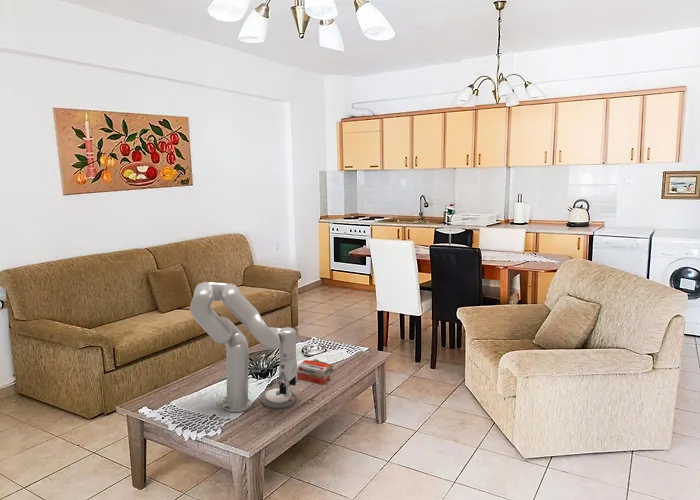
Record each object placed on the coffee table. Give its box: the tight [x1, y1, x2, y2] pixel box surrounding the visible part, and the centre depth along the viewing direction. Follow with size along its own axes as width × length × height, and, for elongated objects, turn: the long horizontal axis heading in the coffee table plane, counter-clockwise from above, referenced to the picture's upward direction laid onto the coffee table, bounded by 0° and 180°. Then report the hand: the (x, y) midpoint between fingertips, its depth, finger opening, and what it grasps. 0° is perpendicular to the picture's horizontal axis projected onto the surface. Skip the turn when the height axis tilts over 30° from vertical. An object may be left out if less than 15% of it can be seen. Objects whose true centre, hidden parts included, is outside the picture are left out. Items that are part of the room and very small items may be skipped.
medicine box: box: [296, 359, 331, 386], centre depth 265 cm, size 15×8×8 cm, turn 69°
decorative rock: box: [309, 358, 334, 371], centre depth 278 cm, size 11×4×15 cm
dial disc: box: [265, 384, 294, 403], centre depth 240 cm, size 14×12×6 cm
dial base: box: [260, 386, 297, 410], centre depth 241 cm, size 16×16×4 cm
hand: (287, 389), depth 239 cm, fingers open, 9 cm apart
